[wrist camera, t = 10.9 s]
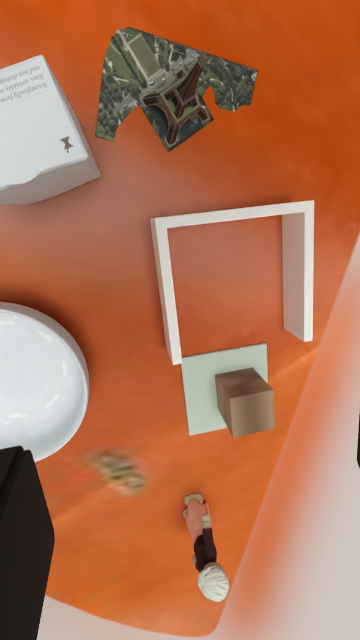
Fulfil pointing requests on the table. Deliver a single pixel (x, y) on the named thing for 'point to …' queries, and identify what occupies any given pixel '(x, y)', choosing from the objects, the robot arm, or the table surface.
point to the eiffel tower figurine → (166, 85)
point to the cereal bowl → (39, 382)
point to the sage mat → (202, 382)
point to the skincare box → (39, 136)
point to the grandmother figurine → (205, 549)
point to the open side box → (293, 254)
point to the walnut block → (245, 401)
